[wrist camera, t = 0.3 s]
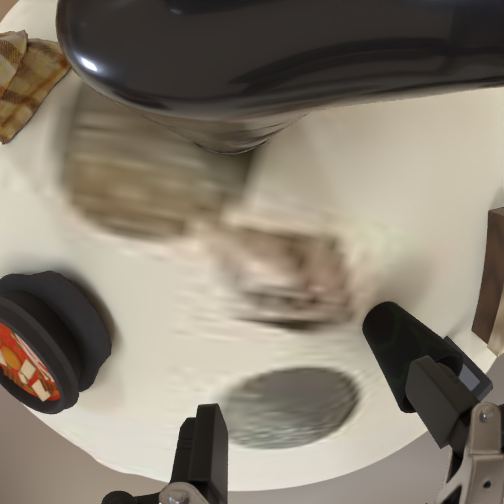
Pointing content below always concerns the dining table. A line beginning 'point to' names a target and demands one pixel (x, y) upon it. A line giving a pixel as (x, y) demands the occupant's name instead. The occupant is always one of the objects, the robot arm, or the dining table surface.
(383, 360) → the cup
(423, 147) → the dining table surface
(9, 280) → the casserole
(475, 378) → the dark grey rectangular block
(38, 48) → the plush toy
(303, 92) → the robot arm
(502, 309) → the lidded shoe box
